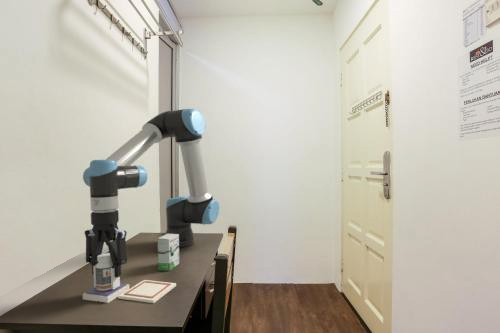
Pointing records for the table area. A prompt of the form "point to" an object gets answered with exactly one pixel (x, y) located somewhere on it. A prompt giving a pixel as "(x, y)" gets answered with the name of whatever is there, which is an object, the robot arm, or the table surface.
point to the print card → (147, 291)
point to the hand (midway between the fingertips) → (106, 286)
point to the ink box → (168, 251)
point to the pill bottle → (103, 272)
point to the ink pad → (105, 293)
